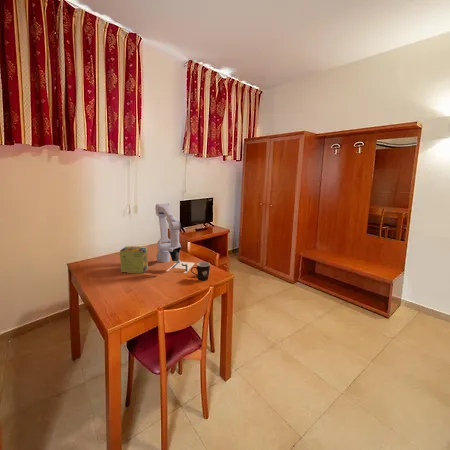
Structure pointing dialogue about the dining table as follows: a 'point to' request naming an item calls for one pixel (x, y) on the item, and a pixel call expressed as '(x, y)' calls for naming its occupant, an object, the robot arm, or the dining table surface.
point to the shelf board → (183, 266)
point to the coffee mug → (202, 270)
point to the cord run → (177, 263)
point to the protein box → (133, 259)
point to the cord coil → (176, 257)
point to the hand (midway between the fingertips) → (175, 258)
